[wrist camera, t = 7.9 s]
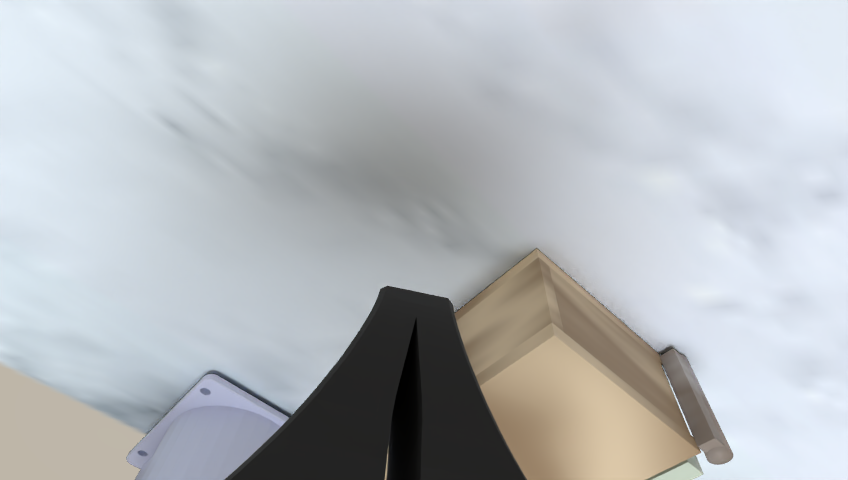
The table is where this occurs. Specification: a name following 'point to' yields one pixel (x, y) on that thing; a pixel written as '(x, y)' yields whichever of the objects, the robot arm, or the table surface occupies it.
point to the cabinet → (580, 382)
